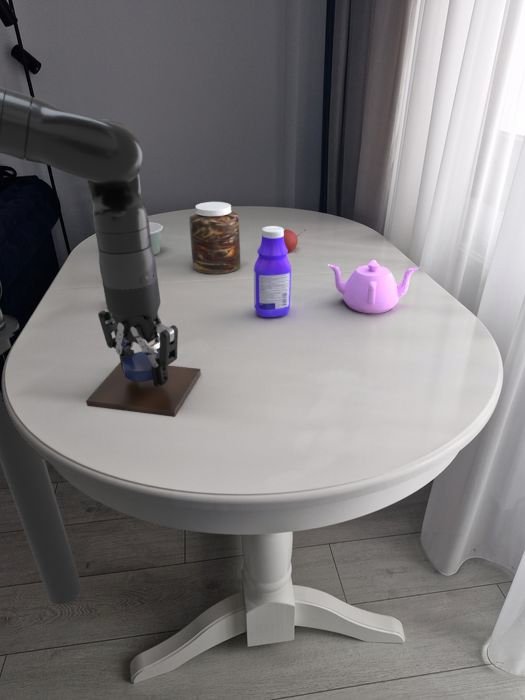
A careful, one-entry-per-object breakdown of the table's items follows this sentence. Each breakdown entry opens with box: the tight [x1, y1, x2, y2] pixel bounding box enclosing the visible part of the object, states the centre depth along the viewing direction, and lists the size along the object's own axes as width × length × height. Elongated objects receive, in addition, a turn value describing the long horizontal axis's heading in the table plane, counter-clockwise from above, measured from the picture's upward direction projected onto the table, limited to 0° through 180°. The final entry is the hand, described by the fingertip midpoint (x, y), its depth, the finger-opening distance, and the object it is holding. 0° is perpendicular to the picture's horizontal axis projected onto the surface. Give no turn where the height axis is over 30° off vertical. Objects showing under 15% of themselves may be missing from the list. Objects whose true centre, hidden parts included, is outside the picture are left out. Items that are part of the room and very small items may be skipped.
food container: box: [149, 221, 164, 256], centre depth 137 cm, size 12×12×6 cm
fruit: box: [284, 229, 306, 253], centre depth 137 cm, size 6×6×8 cm
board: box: [85, 361, 202, 418], centre depth 80 cm, size 14×12×1 cm
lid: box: [122, 351, 159, 382], centre depth 78 cm, size 6×6×2 cm
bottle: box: [253, 225, 292, 318], centre depth 100 cm, size 7×6×17 cm
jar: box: [189, 201, 241, 275], centre depth 124 cm, size 12×12×15 cm
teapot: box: [327, 259, 419, 314], centre depth 105 cm, size 12×14×9 cm
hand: (145, 378), depth 80 cm, fingers closed on lid, 5 cm apart
